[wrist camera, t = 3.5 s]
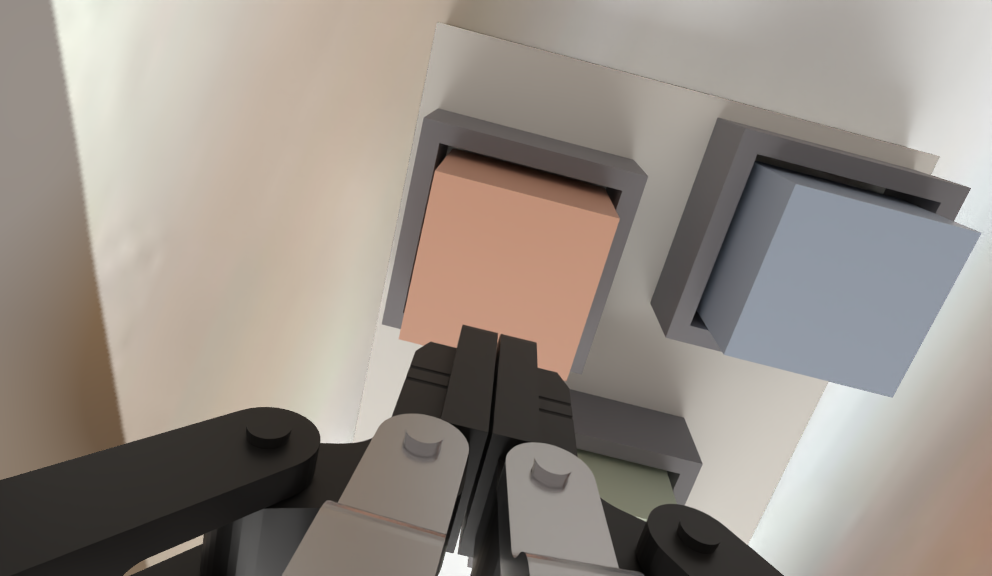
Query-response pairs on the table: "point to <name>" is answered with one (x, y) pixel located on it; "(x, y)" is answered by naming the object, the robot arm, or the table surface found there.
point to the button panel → (639, 253)
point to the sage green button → (629, 484)
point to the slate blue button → (830, 279)
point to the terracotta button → (508, 256)
